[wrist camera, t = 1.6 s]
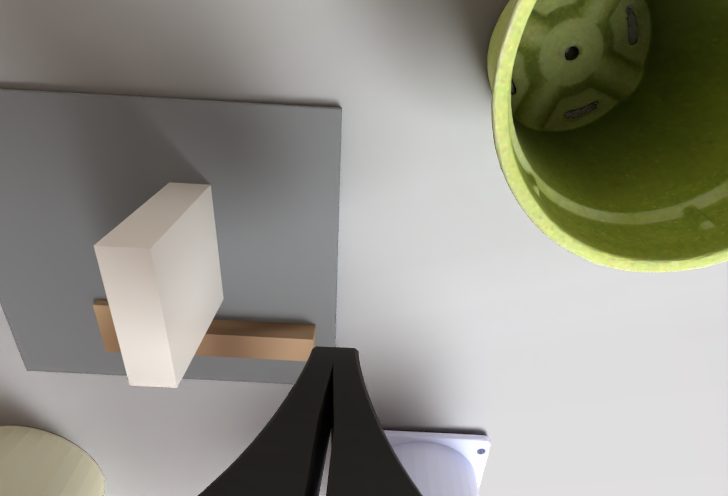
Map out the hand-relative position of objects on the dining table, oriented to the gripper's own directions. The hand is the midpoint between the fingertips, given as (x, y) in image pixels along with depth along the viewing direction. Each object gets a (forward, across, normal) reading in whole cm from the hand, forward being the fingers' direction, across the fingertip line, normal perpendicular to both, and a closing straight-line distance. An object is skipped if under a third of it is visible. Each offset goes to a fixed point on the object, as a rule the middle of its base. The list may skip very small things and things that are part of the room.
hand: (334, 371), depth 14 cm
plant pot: (+9, -8, -9) cm, 15 cm away
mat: (+8, +9, +1) cm, 12 cm away
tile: (+8, +7, 0) cm, 11 cm away
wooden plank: (+8, +7, +5) cm, 12 cm away
